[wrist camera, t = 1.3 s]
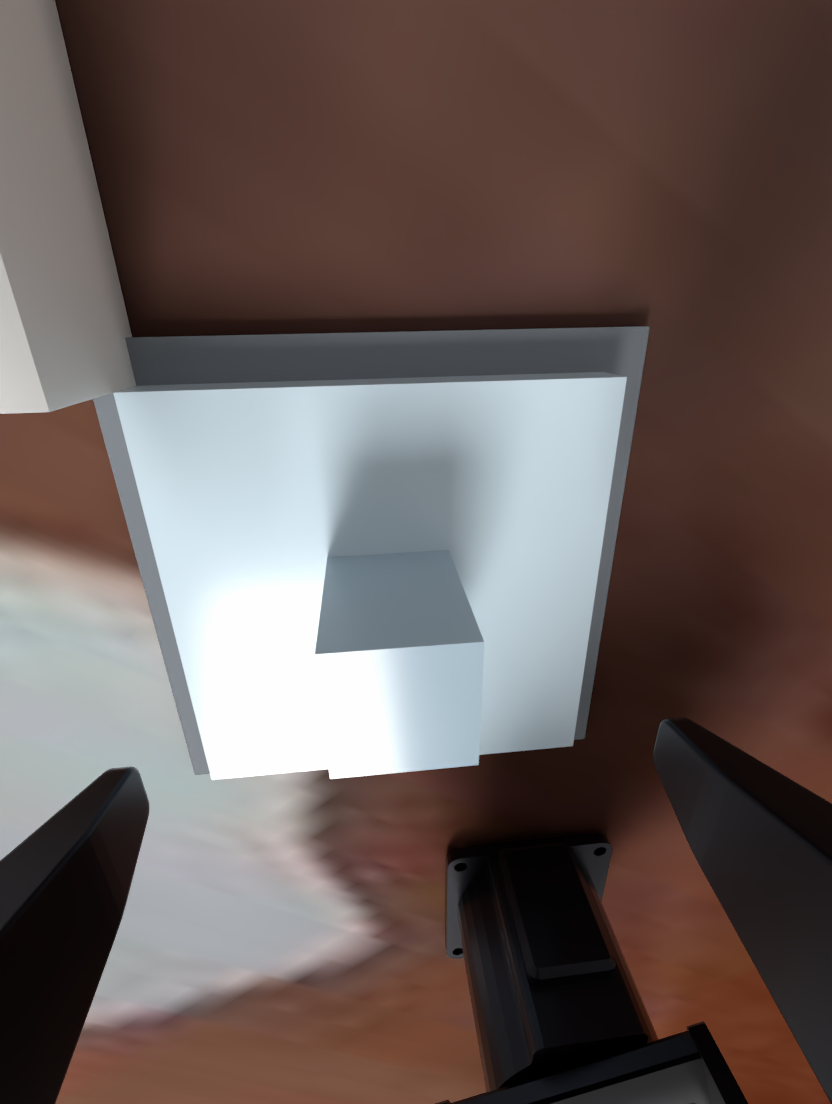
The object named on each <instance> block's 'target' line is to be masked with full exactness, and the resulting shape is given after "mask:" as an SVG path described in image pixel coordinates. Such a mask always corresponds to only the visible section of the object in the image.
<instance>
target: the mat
mask: <svg viewBox="0 0 832 1104" xmlns="http://www.w3.org/2000/svg"><path fill="white" fill-rule="evenodd" d="M649 329H650V326H629V327H583V328H537V329H491V330H445V331H398V332H352V333H306V334H260V335H213V336H167V337H129V338H125V340H126V345H127V349H128V353H129V357H130V362H131V366H132V370H133V374H134V379H135V383H136V386H142V385H176V384H210V383H244V382H278V381H312V380H346V379H380V378H414V377H448V376H482V375H516V374H550V373H584V372H606V373H611V374H616V375H620V376H625V377H627V381H626V387H625V394H624V401H623V408H622V415H621V421H620V428H619V435H618V442H617V449H616V456H615V462H614V469H613V476H612V483H611V490H610V496H609V503H608V510H607V517H606V524H605V531H604V537H603V544H602V551H601V558H600V565H599V571H598V578H597V585H596V592H595V599H594V606H593V612H592V619H591V626H590V633H589V640H588V646H587V653H586V660H585V667H584V674H583V680H582V687H581V694H580V701H579V708H578V715H577V721H576V728H575V735H574V740H579V739H585V733H586V727H587V721H588V714H589V708H590V702H591V695H592V689H593V683H594V676H595V670H596V664H597V657H598V651H599V645H600V638H601V632H602V626H603V619H604V613H605V607H606V600H607V594H608V588H609V581H610V575H611V569H612V563H613V556H614V550H615V544H616V537H617V531H618V525H619V518H620V512H621V506H622V499H623V493H624V487H625V480H626V474H627V468H628V461H629V455H630V449H631V442H632V436H633V430H634V423H635V417H636V411H637V404H638V398H639V392H640V386H641V379H642V373H643V367H644V360H645V354H646V348H647V341H648V335H649ZM93 401H94V404H95V408H96V412H97V415H98V419H99V423H100V426H101V430H102V434H103V437H104V441H105V445H106V449H107V452H108V456H109V460H110V463H111V467H112V471H113V474H114V478H115V482H116V485H117V489H118V493H119V496H120V500H121V504H122V508H123V511H124V515H125V519H126V522H127V526H128V530H129V533H130V537H131V541H132V544H133V548H134V552H135V555H136V559H137V563H138V567H139V570H140V574H141V578H142V581H143V585H144V589H145V592H146V596H147V600H148V603H149V607H150V611H151V614H152V618H153V622H154V625H155V629H156V633H157V637H158V640H159V644H160V648H161V651H162V655H163V659H164V662H165V666H166V670H167V673H168V677H169V681H170V684H171V688H172V692H173V696H174V699H175V703H176V707H177V710H178V714H179V718H180V721H181V725H182V729H183V732H184V736H185V740H186V743H187V747H188V751H189V755H190V758H191V762H192V766H193V769H194V773H195V775H201V774H210V772H209V768H208V764H207V760H206V756H205V752H204V748H203V744H202V740H201V736H200V732H199V728H198V724H197V720H196V716H195V713H194V709H193V705H192V701H191V697H190V693H189V689H188V685H187V681H186V677H185V673H184V669H183V665H182V661H181V657H180V654H179V650H178V646H177V642H176V638H175V634H174V630H173V626H172V622H171V618H170V614H169V610H168V606H167V602H166V598H165V594H164V591H163V587H162V583H161V579H160V575H159V571H158V567H157V563H156V559H155V555H154V551H153V547H152V543H151V539H150V535H149V532H148V528H147V524H146V520H145V516H144V512H143V508H142V504H141V500H140V496H139V492H138V488H137V484H136V480H135V476H134V472H133V469H132V465H131V461H130V457H129V453H128V449H127V445H126V441H125V437H124V433H123V429H122V425H121V421H120V417H119V413H118V410H117V406H116V402H115V398H114V394H113V393H110V394H107V395H104V396H101V397H97V398H94V399H93Z"/></svg>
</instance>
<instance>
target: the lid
mask: <svg viewBox="0 0 832 1104" xmlns="http://www.w3.org/2000/svg"><path fill="white" fill-rule="evenodd" d="M626 381H627V377H625V376H620V375H616V374H611V373H606V372H584V373H550V374H516V375H482V376H448V377H414V378H380V379H346V380H312V381H278V382H244V383H210V384H176V385H142V386H133V387H130V388H127V389H124V390H120V391H117V392H114V393H113V394H114V398H115V402H116V406H117V410H118V413H119V417H120V421H121V425H122V429H123V433H124V437H125V441H126V445H127V449H128V453H129V457H130V461H131V465H132V469H133V472H134V476H135V480H136V484H137V488H138V492H139V496H140V500H141V504H142V508H143V512H144V516H145V520H146V524H147V528H148V532H149V535H150V539H151V543H152V547H153V551H154V555H155V559H156V563H157V567H158V571H159V575H160V579H161V583H162V587H163V591H164V594H165V598H166V602H167V606H168V610H169V614H170V618H171V622H172V626H173V630H174V634H175V638H176V642H177V646H178V650H179V654H180V657H181V661H182V665H183V669H184V673H185V677H186V681H187V685H188V689H189V693H190V697H191V701H192V705H193V709H194V713H195V716H196V720H197V724H198V728H199V732H200V736H201V740H202V744H203V748H204V752H205V756H206V760H207V764H208V768H209V772H210V776H211V779H212V780H217V779H228V778H238V777H249V776H260V775H270V774H281V773H292V772H302V771H313V770H324V769H329V777H330V779H337V778H348V777H358V776H369V775H379V774H390V773H400V772H411V771H421V770H432V769H442V768H453V767H463V766H473V765H479V755H484V754H494V753H505V752H516V751H526V750H537V749H548V748H558V747H569V746H573V742H574V735H575V728H576V721H577V715H578V708H579V701H580V694H581V687H582V680H583V674H584V667H585V660H586V653H587V646H588V640H589V633H590V626H591V619H592V612H593V606H594V599H595V592H596V585H597V578H598V571H599V565H600V558H601V551H602V544H603V537H604V531H605V524H606V517H607V510H608V503H609V496H610V490H611V483H612V476H613V469H614V462H615V456H616V449H617V442H618V435H619V428H620V421H621V415H622V408H623V401H624V394H625V387H626Z"/></svg>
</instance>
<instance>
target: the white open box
mask: <svg viewBox="0 0 832 1104" xmlns="http://www.w3.org/2000/svg"><path fill="white" fill-rule="evenodd" d="M129 337H132V334H131V330H130V325H129V321H128V317H127V312H126V308H125V304H124V299H123V295H122V291H121V286H120V282H119V277H118V273H117V269H116V264H115V260H114V256H113V251H112V247H111V243H110V238H109V234H108V229H107V225H106V221H105V216H104V212H103V208H102V203H101V199H100V195H99V190H98V186H97V182H96V177H95V173H94V168H93V164H92V160H91V155H90V151H89V147H88V142H87V138H86V134H85V129H84V125H83V120H82V116H81V112H80V107H79V103H78V99H77V94H76V90H75V86H74V81H73V77H72V72H71V68H70V64H69V59H68V55H67V51H66V46H65V42H64V38H63V33H62V29H61V24H60V20H59V16H58V11H57V7H56V3H55V0H0V414H6V413H36V412H51V411H55V410H58V409H61V408H65V407H68V406H71V405H74V404H78V403H81V402H84V401H87V400H91V399H94V398H97V397H101V396H104V395H107V394H110V393H114V392H117V391H120V390H124V389H127V388H130V387H133V386H136V383H135V379H134V374H133V370H132V366H131V362H130V357H129V353H128V349H127V345H126V340H125V338H129Z"/></svg>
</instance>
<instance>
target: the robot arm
mask: <svg viewBox="0 0 832 1104" xmlns="http://www.w3.org/2000/svg"><path fill="white" fill-rule="evenodd" d="M653 760H654V764H655V767H656V770H657V772H658V775H659V777H660V779H661V781H662V784H663V786H664V788H665V791H666V793H667V795H668V797H669V800H670V802H671V804H672V807H673V809H674V811H675V814H676V816H677V818H678V820H679V823H680V825H681V827H682V830H683V832H684V834H685V836H686V839H687V841H688V843H689V845H690V847H691V849H692V852H693V854H694V855H695V857H696V859H697V861H698V863H699V865H700V867H701V869H702V871H703V872H704V874H705V876H706V878H707V880H708V881H709V883H710V885H711V887H712V889H713V890H714V892H715V894H716V896H717V898H718V899H719V901H720V903H721V905H722V907H723V909H724V910H725V912H726V914H727V916H728V918H729V919H730V921H731V923H732V925H733V927H734V928H735V930H736V932H737V934H738V936H739V938H740V939H741V941H742V943H743V945H744V947H745V948H746V950H747V952H748V954H749V956H750V957H751V959H752V961H753V963H754V965H755V966H756V968H757V970H758V972H759V974H760V976H761V977H762V979H763V981H764V983H765V985H766V986H767V988H768V990H769V992H770V994H771V995H772V997H773V999H774V1001H775V1003H776V1004H777V1006H778V1008H779V1010H780V1012H781V1014H782V1015H783V1017H784V1019H785V1021H786V1023H787V1024H788V1026H789V1028H790V1030H791V1032H792V1033H793V1035H794V1037H795V1039H796V1041H797V1043H798V1044H799V1046H800V1048H801V1050H802V1052H803V1053H804V1055H805V1057H806V1059H807V1061H808V1062H809V1064H810V1066H811V1068H812V1070H813V1071H814V1073H815V1075H816V1077H817V1079H818V1081H819V1082H820V1084H821V1086H822V1088H823V1090H824V1091H825V1093H826V1095H827V1097H828V1099H829V1100H830V1102H831V1104H832V804H831V803H830V802H828V801H826V800H825V799H823V798H821V797H820V796H818V795H816V794H814V793H813V792H811V791H809V790H808V789H806V788H804V787H803V786H801V785H799V784H798V783H796V782H794V781H793V780H791V779H789V778H788V777H786V776H784V775H782V774H781V773H779V772H777V771H776V770H774V769H772V768H771V767H769V766H767V765H766V764H764V763H762V762H761V761H759V760H757V759H755V758H754V757H752V756H750V755H749V754H747V753H745V752H744V751H742V750H740V749H739V748H737V747H735V746H734V745H732V744H730V743H729V742H727V741H725V740H723V739H722V738H720V737H718V736H717V735H715V734H713V733H712V732H710V731H708V730H707V729H705V728H703V727H702V726H700V725H698V724H697V723H695V722H693V721H691V720H690V719H687V718H683V717H681V718H669V719H664V720H663V721H662V722H661V723H660V725H659V730H658V734H657V738H656V743H655V747H654V751H653ZM148 816H149V801H148V797H147V794H146V791H145V788H144V785H143V782H142V779H141V776H140V773H139V771H138V770H137V769H136V768H135V767H123V768H112V769H109V770H107V771H106V772H104V773H103V774H102V775H101V776H99V777H98V778H97V779H96V780H95V781H93V782H92V783H91V784H90V785H89V786H88V787H86V788H85V789H84V790H83V791H82V792H81V793H79V794H78V795H77V796H76V797H75V798H74V799H72V800H71V801H70V802H69V803H68V804H66V805H65V806H64V807H63V808H62V809H61V810H59V811H58V812H57V813H56V814H55V815H54V816H52V817H51V818H50V819H49V820H48V821H47V822H45V823H44V824H43V825H42V826H41V827H40V828H38V829H37V830H36V831H35V832H34V833H32V834H31V835H30V836H29V837H28V838H27V839H25V840H24V841H23V842H22V843H21V844H20V845H18V846H17V847H16V848H15V849H14V850H13V851H11V852H10V853H9V854H8V855H7V856H5V857H4V858H3V859H2V860H1V861H0V1104H55V1103H56V1100H57V1097H58V1094H59V1092H60V1089H61V1086H62V1083H63V1081H64V1078H65V1075H66V1072H67V1069H68V1067H69V1064H70V1061H71V1058H72V1056H73V1053H74V1050H75V1047H76V1045H77V1042H78V1039H79V1036H80V1034H81V1031H82V1028H83V1025H84V1023H85V1020H86V1017H87V1014H88V1012H89V1009H90V1006H91V1003H92V1000H93V998H94V995H95V992H96V989H97V987H98V984H99V981H100V978H101V976H102V973H103V970H104V967H105V965H106V962H107V959H108V956H109V954H110V951H111V948H112V945H113V942H114V940H115V937H116V934H117V931H118V928H119V925H120V922H121V919H122V916H123V913H124V909H125V906H126V902H127V898H128V894H129V890H130V887H131V883H132V879H133V875H134V871H135V867H136V863H137V859H138V855H139V851H140V847H141V843H142V840H143V836H144V832H145V828H146V824H147V820H148ZM611 854H612V846H611V844H610V842H609V840H608V837H607V836H606V835H604V834H598V833H597V834H588V835H579V836H570V837H561V838H552V839H542V840H533V841H524V842H515V843H506V844H497V845H487V846H478V847H469V848H460V849H455V850H453V851H451V852H450V853H449V854H448V855H447V857H446V905H445V946H446V953H447V956H449V957H450V958H464V960H465V966H466V972H467V978H468V984H469V990H470V996H471V1002H472V1008H473V1015H474V1021H475V1027H476V1033H477V1039H478V1045H479V1051H480V1057H481V1063H482V1069H483V1075H484V1081H485V1087H486V1093H483V1094H479V1095H476V1096H473V1097H470V1098H466V1099H463V1100H460V1101H457V1102H453V1103H450V1101H449V1100H446V1101H442V1102H439V1103H436V1104H748V1102H747V1101H746V1099H745V1097H744V1095H743V1093H742V1091H741V1089H740V1087H739V1086H738V1084H737V1082H736V1080H735V1078H734V1076H733V1074H732V1073H731V1071H730V1069H729V1067H728V1065H727V1063H726V1061H725V1060H724V1058H723V1056H722V1054H721V1052H720V1050H719V1048H718V1047H717V1045H716V1043H715V1041H714V1039H713V1037H712V1035H711V1033H710V1032H709V1030H708V1028H707V1026H706V1024H705V1023H704V1021H703V1022H700V1023H697V1024H694V1025H690V1026H687V1031H685V1032H682V1033H679V1034H676V1035H672V1036H669V1037H666V1038H662V1039H659V1040H658V1037H657V1035H656V1032H655V1030H654V1028H653V1025H652V1023H651V1020H650V1018H649V1016H648V1013H647V1011H646V1008H645V1006H644V1004H643V1001H642V999H641V996H640V994H639V992H638V989H637V987H636V984H635V982H634V980H633V977H632V975H631V972H630V970H629V968H628V965H627V963H626V960H625V958H624V956H623V953H622V951H621V948H620V946H619V944H618V941H617V939H616V936H615V934H614V932H613V929H612V927H611V924H610V922H609V920H608V917H607V915H606V912H605V910H604V907H603V905H602V903H601V901H602V896H603V892H604V887H605V882H606V877H607V873H608V868H609V863H610V859H611Z"/></svg>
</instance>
